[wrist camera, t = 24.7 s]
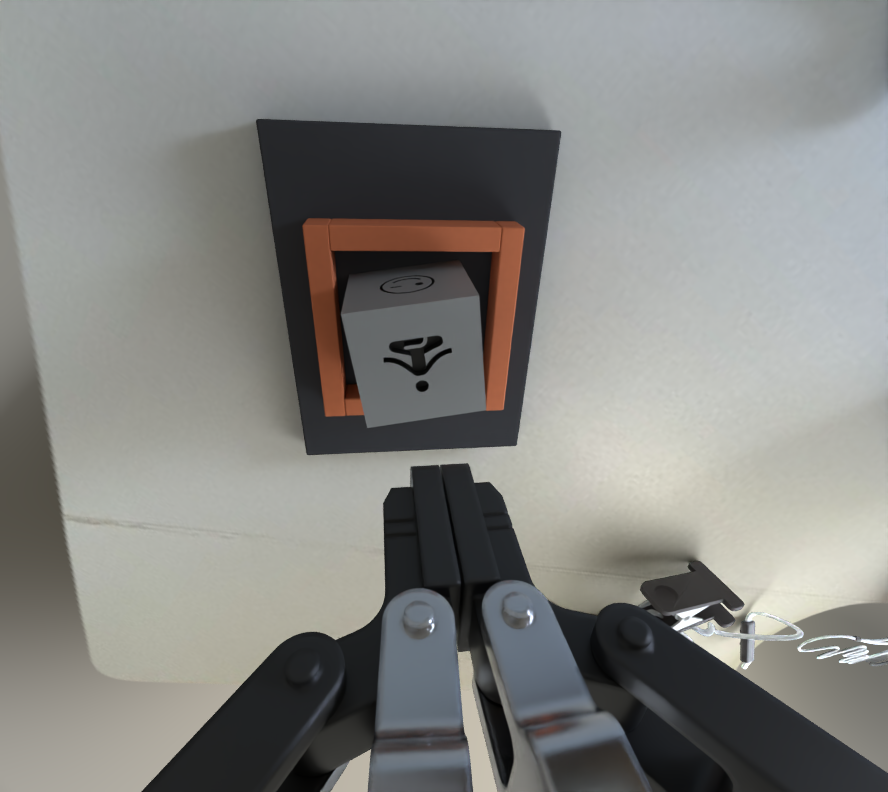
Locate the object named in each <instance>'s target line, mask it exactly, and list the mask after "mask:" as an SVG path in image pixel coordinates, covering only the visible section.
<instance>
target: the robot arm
mask: <svg viewBox="0 0 888 792" xmlns="http://www.w3.org/2000/svg"><path fill="white" fill-rule="evenodd" d="M383 512H384V555H385V598H384V603H383V605H382V607H381V609H380V611H379V613H378V614H377V615H376V616H375V618H374V619H373V620H372V621H371V622H370V623H369V624H367V625H366V626H364V627H363V628H361V629H359V630H357V631H355V632H353V633H351V634H349V635H346V636H344V637H342V638H339V639H337V640H334V639H333V638H332V637H330V636H328V635H326V634H323V633H319V632H306V633H301V634H298V635H295V636H293V637H291V638H289V639H287V640H286V641H284V642H283V643H281V644H280V645H279V646H278V647H277V648H276V649H275V650H274V651H273V652H272V653H271V654H270V655H269V656H268V657H267V658H266V659H265V661H264V662H263V663H262V664H261V665H260V666H259V667H258V668H257V669H256V670H255V671H254V672H253V673H252V674H251V675H250V677H249V678H248V679H247V680H246V681H245V682H244V683H243V684H242V685H241V686H240V687H239V688H238V689H237V690H236V692H235V693H234V694H233V695H232V696H231V697H230V698H229V699H228V700H227V701H226V702H225V703H224V704H223V705H222V706H221V708H220V709H219V710H218V711H217V712H216V713H215V714H214V715H213V716H212V717H211V718H210V719H209V720H208V721H207V722H206V723H205V724H204V726H203V727H202V728H201V729H200V730H199V731H198V732H197V733H196V734H195V735H194V736H193V737H192V738H191V739H190V741H189V742H188V743H187V744H186V745H185V746H184V747H183V748H182V749H181V750H180V751H179V752H178V753H177V754H176V755H175V757H174V758H173V759H172V760H171V761H170V762H169V763H168V764H167V765H166V766H165V767H164V768H163V769H162V770H161V771H160V772H159V774H158V775H157V776H156V777H155V778H154V779H153V780H152V781H151V782H150V783H149V784H148V785H147V786H146V787H145V788H144V790H143V791H142V792H330V791H331V790H332V788H333V787H334V785H335V784H336V782H337V781H338V779H339V777H340V776H341V774H342V773H343V771H344V770H345V768H346V767H347V765H348V763H349V761H350V760H352V759H354V758H356V757H357V756H359V755H361V754H363V753H365V752H367V751H368V750H370V749H371V756H370V768H369V782H368V792H473V786H472V774H471V763H470V755H469V746H468V741H467V737H466V735H465V733H464V727H463V716H462V703H461V691H460V679H459V666H458V654H457V647H458V652H463V651H470V653H471V659H472V664H473V670H474V671H473V679H472V688H473V693H474V697H475V701H476V705H477V709H478V713H479V718H480V722H481V726H482V730H483V734H484V738H485V742H486V746H487V750H488V754H489V758H490V762H491V766H492V770H493V774H494V779H495V783H496V787H497V791H498V792H888V773H887V772H885V771H884V770H882V769H881V768H879V767H878V766H876V765H875V764H873V763H872V762H870V761H869V760H867V759H866V758H864V757H863V756H861V755H860V754H859V753H857V752H856V751H854V750H853V749H851V748H849V747H848V746H847V745H845V744H844V743H842V742H841V741H839V740H838V739H836V738H835V737H833V736H832V735H830V734H829V733H827V732H826V731H824V730H823V729H821V728H820V727H818V726H817V725H815V724H814V723H813V722H811V721H809V720H808V719H807V718H805V717H804V716H802V715H800V714H799V713H798V712H796V711H795V710H793V709H792V708H790V707H789V706H787V705H786V704H784V703H783V702H781V701H780V700H778V699H777V698H775V697H774V696H772V695H771V694H769V693H768V692H767V691H765V690H764V689H762V688H760V687H759V686H758V685H756V684H754V683H753V682H752V681H750V680H749V679H747V678H746V677H744V676H743V675H741V674H740V673H738V672H737V671H735V670H734V669H732V668H731V667H729V666H728V665H726V664H725V663H723V662H722V661H721V660H719V659H718V658H716V657H715V656H713V655H712V654H710V653H709V652H707V651H706V650H704V649H703V648H701V647H700V646H698V645H697V644H695V643H694V642H692V641H691V640H689V639H688V638H686V637H685V636H683V635H682V634H680V633H679V632H677V631H676V630H675V629H673V628H672V627H670V626H669V625H667V624H666V623H664V622H663V621H661V620H660V619H658V618H657V617H655V616H654V615H652V614H651V613H649V612H648V611H646V610H644V609H642V608H640V607H638V606H635V605H632V604H627V603H614V604H611V605H608V606H606V607H605V608H603V609H602V610H601V611H600V613H599V615H598V616H596V615H592V614H587V613H582V612H578V611H573V610H569V609H565V608H562V607H560V606H557V605H555V604H554V603H552V602H550V601H549V600H547V599H546V597H545V596H544V595H543V594H542V593H541V592H540V591H539V590H538V589H537V588H536V587H535V586H534V584H533V583H532V580H531V578H530V575H529V572H528V569H527V566H526V564H525V561H524V558H523V555H522V552H521V549H520V546H519V543H518V540H517V537H516V534H515V532H514V529H513V528H512V523H511V520H510V517H509V515H508V511H507V508H506V505H505V502H504V500H503V497H502V495H501V494H500V493H499V492H498V491H497V490H496V488H495V487H494V486H493V485H492V484H491V483H490V482H482V483H474V480H473V477H472V473H471V470H470V466H469V464H468V463H466V464H448V465H440V468H439V465H431V466H413V467H411V469H410V487H401V488H391V490H390V492H389V493H388V495H387V497H386V499H385V501H384V503H383Z"/></svg>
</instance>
